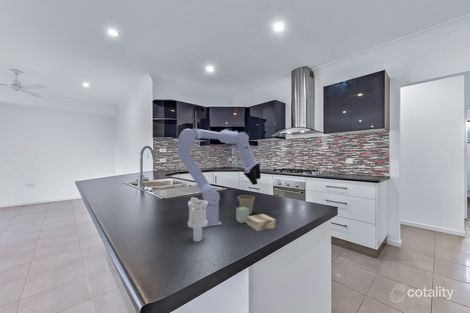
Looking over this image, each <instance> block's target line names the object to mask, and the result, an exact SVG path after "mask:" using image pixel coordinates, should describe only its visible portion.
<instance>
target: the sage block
mask: <svg viewBox="0 0 470 313" xmlns="http://www.w3.org/2000/svg"><path fill="white" fill-rule="evenodd" d="M235 212H236V213H235V214H236V216H235V218H236V220H235V221H237V222H238V223H240V224H243V223H247V216H250V214H249V209H248V208H246V207H240V206H239V207H236V210H235Z"/></svg>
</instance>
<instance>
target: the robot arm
mask: <svg viewBox="0 0 470 313" xmlns="http://www.w3.org/2000/svg"><path fill="white" fill-rule="evenodd" d="M200 139H212V140H218V141H220V143H224V144H225V143H226V144H235V145H236V146H237V148H238V151H239V154H240V156H241V160H242V162H243V165H244V172H243V175H244V176H245V177H246V178H247V179H248V180H249V181H250V183H251V185H252V186H254V185H258V179H261V178H262V177H261V167H260V166H261V163H260V162H259V161H257V159H255V156H254V153H253V150H252V148H251V146H250V143H249V139H250V136H249V135H248V134H247V133H246V132H244V131H239V132H238V130H235V131H234V130H233V131H232V130H229V129H228V128H225V129H224V130H223V129H221V131H212V130H209V129H208V130H205V129H200V128H192V129H191V128H185V129H183V130H181V132H180V134H179V136H178V138H177V147H176V149H177V153H176V154H177V156H178V158H179V159H180V161H181V162H182V164H183V166H184V167H185V168H186V170H187V172H188V173H189V174H190V176H191V177H192V179H193V180H194V182H195V183H196V185H197V187H198V189H199V191H200V192H201V195H202V196H201V197H202V200H206V201H208V205H207V206H206V220H207V226H205V227H204V228H206V227H207V228H208V227H213V226H214V227H215V226H220V225H223V223H222V222H221V221H219V208H220V206H219V205H220V204H219V203H220V199H221V196H220V193H219V192H218V191H217V190H215V189H214V188H213V186H212V185H211V184H210V182H209V181H208V180H207V177H205V175H204V173H203V172H202V170H201V169H200V166H198V165H197V163H196V161H195V160H194V158H193V156H192V155H191V152H190V151H191V148H192V145H193V143H194V142H195V141H197V140H200ZM196 209H200V207H198V208H196ZM202 209H203V207H202Z"/></svg>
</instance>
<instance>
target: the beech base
mask: <svg viewBox="0 0 470 313" xmlns="http://www.w3.org/2000/svg"><path fill="white" fill-rule="evenodd" d="M246 225H247V226H248V227H251V229H253V230H254V231H256V232H261V231H266V230H272V229H276V219H275V218H273V217H271V216H270V215H267V214H264V213H261V214H260V213H259V214H254V215H249V216H247V222H246Z"/></svg>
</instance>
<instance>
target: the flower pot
mask: <svg viewBox="0 0 470 313" xmlns="http://www.w3.org/2000/svg"><path fill="white" fill-rule="evenodd" d="M237 199H238V202H239V207H246V208H248V209H249V215H251V214H252V213H253V207H254V202H255V199H256V197H255V196H254V195H247V194H246V195H239V196H237Z"/></svg>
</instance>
